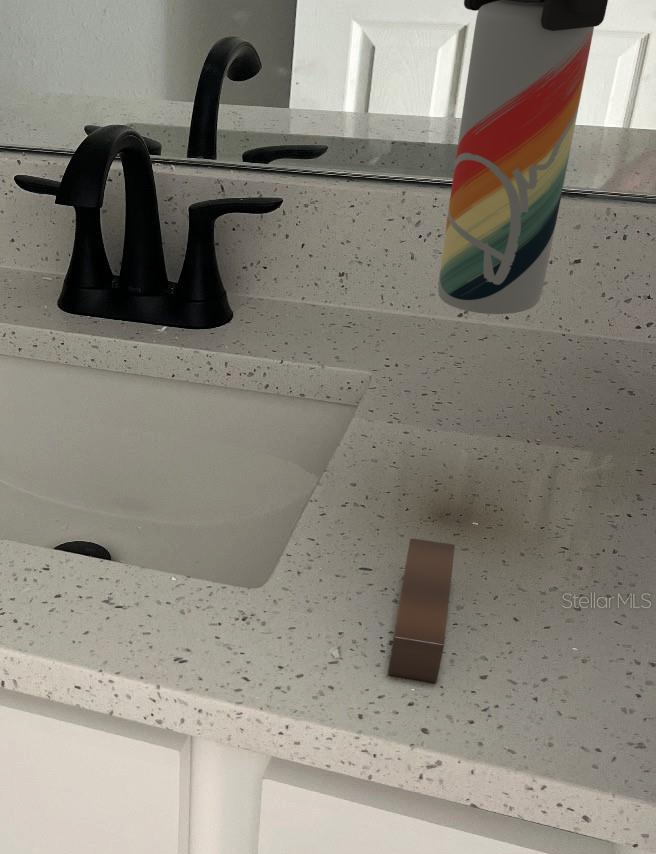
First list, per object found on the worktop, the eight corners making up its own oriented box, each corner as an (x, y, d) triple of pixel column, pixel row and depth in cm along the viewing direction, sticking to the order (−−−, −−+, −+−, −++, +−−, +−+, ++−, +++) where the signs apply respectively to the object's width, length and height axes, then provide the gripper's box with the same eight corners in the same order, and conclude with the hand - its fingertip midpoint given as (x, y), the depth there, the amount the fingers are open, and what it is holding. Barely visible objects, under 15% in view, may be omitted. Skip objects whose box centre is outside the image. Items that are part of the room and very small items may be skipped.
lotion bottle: (443, 316, 66) (505, -99, 55) (429, 281, 71) (484, -108, 60) (550, 316, 66) (634, -103, 55) (529, 281, 70) (603, -113, 59)
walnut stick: (404, 573, 71) (410, 537, 69) (448, 579, 70) (455, 543, 68) (387, 675, 63) (393, 637, 61) (436, 683, 62) (443, 645, 61)
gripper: (858, -496, 44) (717, 39, 54) (559, -431, 57) (492, -12, 68) (689, -498, 42) (577, 55, 53) (422, -431, 56) (375, -1, 66)
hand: (530, 13), depth 60 cm, fingers closed on lotion bottle, 5 cm apart
